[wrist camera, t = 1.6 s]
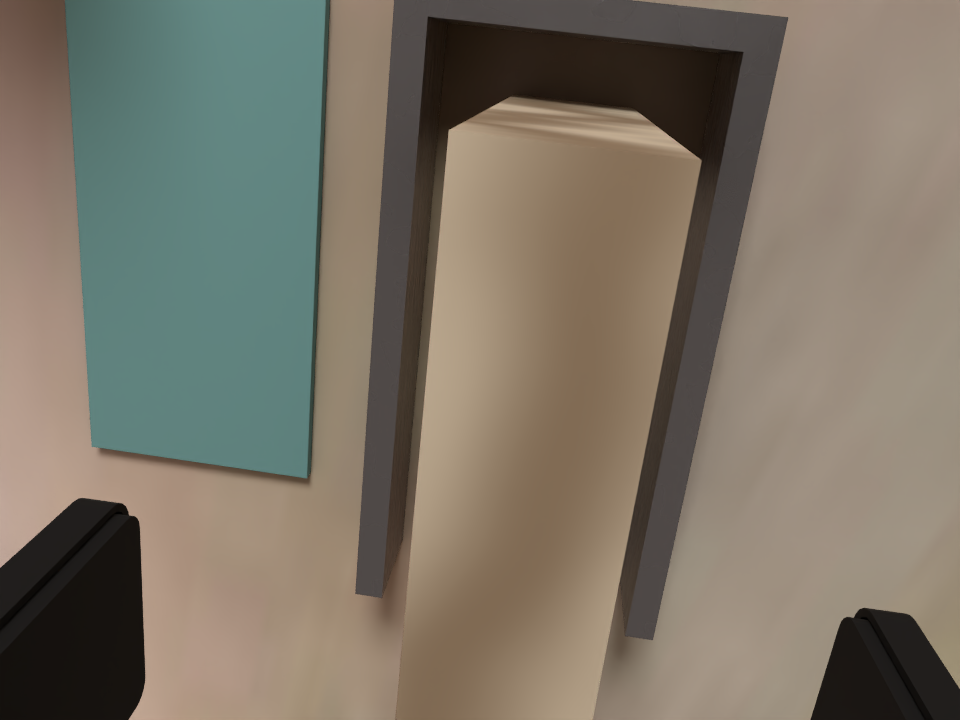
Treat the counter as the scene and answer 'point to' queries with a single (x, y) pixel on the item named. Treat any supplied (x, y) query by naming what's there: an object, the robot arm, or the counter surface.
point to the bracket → (702, 280)
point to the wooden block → (537, 402)
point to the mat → (200, 223)
